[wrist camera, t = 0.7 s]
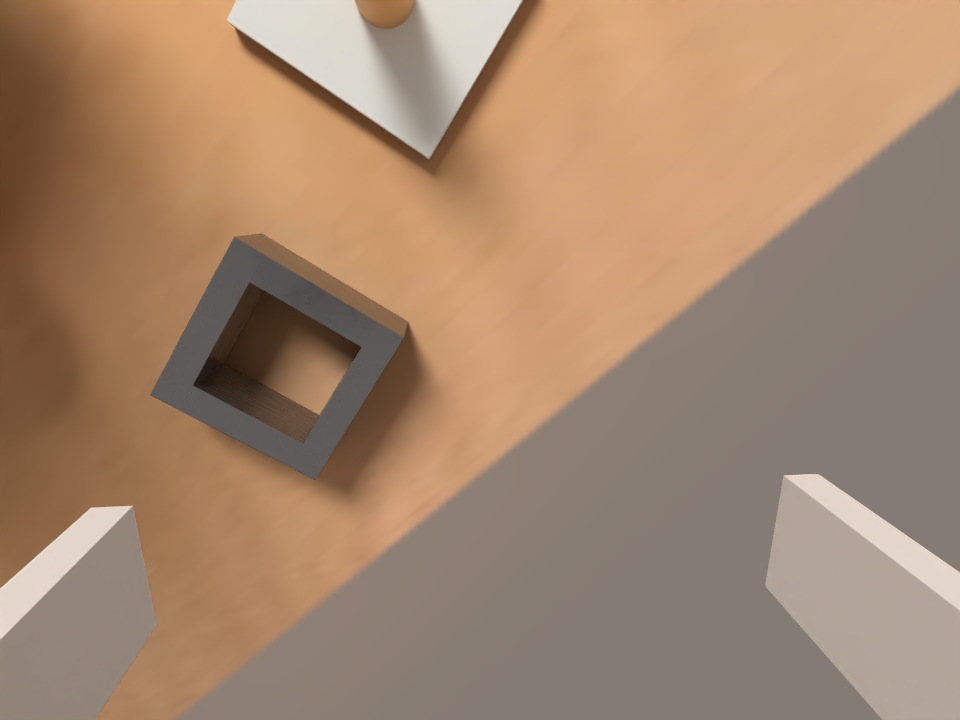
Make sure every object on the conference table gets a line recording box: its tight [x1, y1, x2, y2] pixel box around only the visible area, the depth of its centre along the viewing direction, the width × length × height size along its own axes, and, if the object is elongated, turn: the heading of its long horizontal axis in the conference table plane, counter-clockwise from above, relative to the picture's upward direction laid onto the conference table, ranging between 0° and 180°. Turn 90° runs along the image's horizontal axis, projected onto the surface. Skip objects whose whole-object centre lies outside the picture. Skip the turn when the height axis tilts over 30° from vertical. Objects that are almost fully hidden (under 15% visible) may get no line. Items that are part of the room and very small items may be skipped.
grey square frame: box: [150, 234, 408, 480], centre depth 29 cm, size 9×9×4 cm
